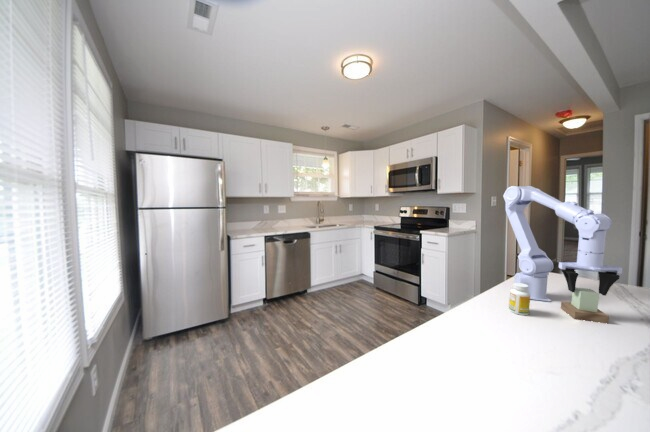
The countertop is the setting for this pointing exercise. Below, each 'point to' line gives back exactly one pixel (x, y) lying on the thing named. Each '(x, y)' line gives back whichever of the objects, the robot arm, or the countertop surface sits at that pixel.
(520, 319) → the countertop surface
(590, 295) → the sage block
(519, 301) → the supplement bottle
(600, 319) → the walnut block
